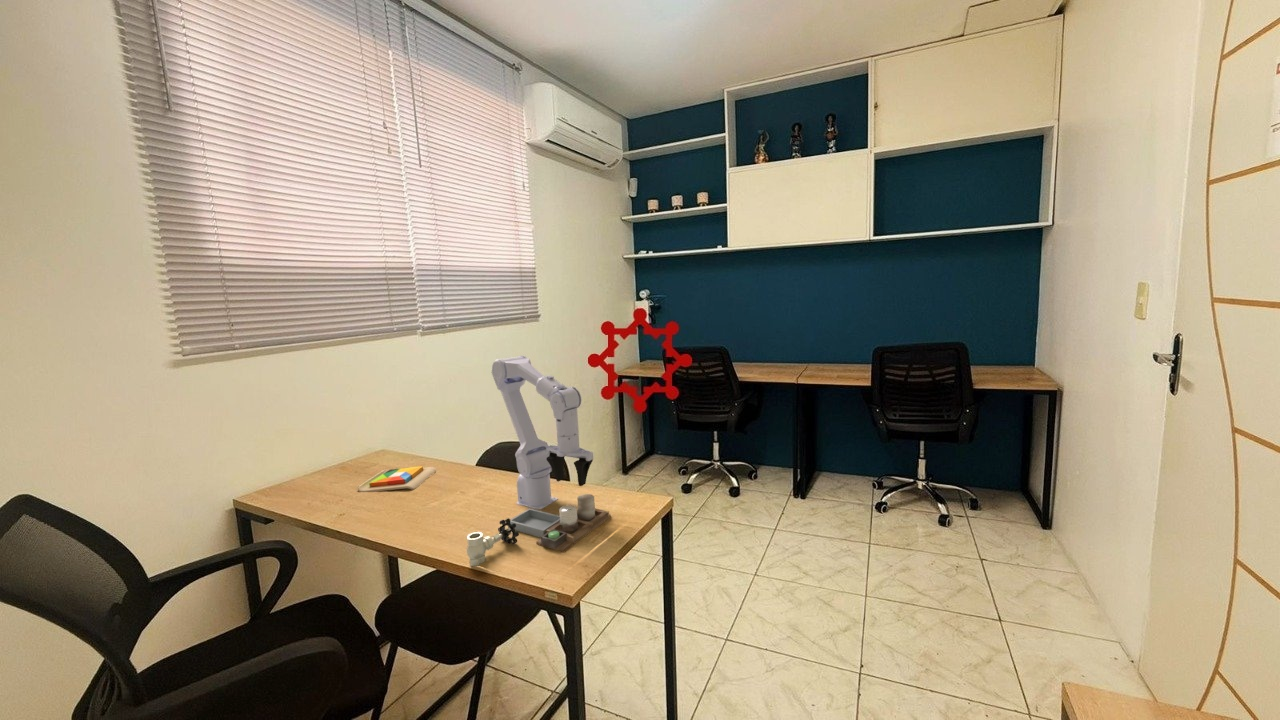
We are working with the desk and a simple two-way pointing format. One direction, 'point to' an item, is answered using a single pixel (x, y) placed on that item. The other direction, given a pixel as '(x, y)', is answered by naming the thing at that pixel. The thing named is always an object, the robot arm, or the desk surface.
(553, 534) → the button
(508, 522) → the valve
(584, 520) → the brown compartment tray
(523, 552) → the desk surface
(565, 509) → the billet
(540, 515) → the tote
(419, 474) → the wooden puzzle
